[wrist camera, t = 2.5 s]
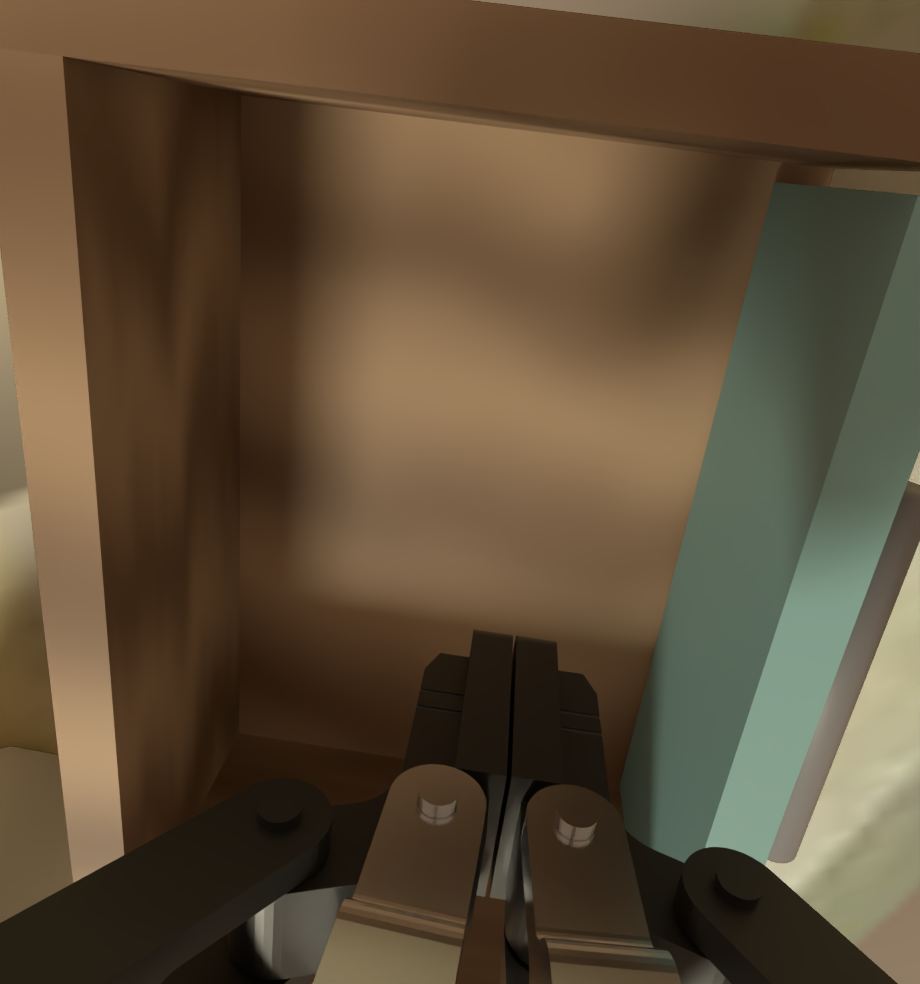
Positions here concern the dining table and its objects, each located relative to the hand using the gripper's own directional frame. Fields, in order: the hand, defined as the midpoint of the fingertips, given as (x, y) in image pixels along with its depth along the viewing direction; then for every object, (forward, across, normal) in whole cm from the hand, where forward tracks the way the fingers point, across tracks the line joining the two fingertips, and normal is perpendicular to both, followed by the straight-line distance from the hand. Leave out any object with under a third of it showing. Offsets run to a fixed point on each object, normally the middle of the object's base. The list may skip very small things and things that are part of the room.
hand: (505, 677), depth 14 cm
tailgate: (+7, -6, 0) cm, 9 cm away
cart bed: (+9, +2, 0) cm, 9 cm away
